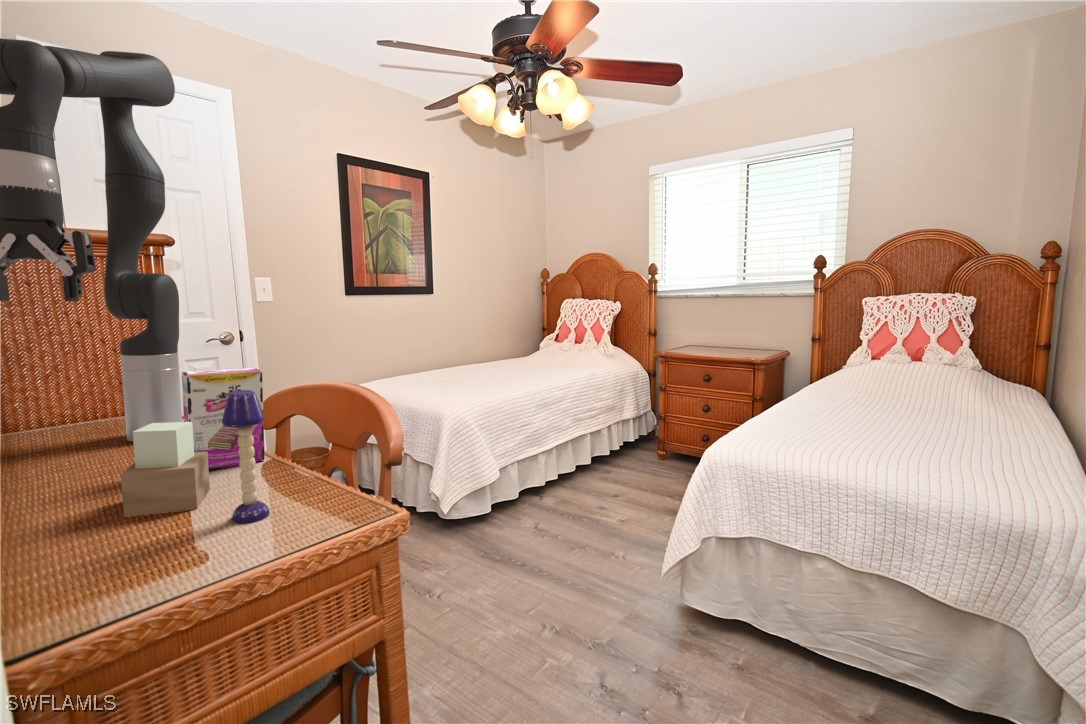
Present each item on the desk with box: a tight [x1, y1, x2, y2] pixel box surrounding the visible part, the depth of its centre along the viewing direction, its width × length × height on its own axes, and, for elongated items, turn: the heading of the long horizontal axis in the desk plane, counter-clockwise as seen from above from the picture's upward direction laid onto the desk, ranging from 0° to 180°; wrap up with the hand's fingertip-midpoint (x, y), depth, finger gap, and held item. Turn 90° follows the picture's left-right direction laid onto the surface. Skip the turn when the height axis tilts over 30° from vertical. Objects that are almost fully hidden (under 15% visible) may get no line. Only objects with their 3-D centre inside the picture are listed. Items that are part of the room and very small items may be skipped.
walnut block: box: [120, 452, 211, 518], centre depth 71 cm, size 8×8×6 cm
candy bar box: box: [181, 367, 265, 471], centre depth 87 cm, size 11×5×16 cm, turn 135°
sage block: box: [133, 421, 194, 469], centre depth 71 cm, size 5×5×5 cm
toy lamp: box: [222, 390, 270, 524], centre depth 66 cm, size 5×5×17 cm
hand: (37, 301), depth 76 cm, fingers open, 8 cm apart
